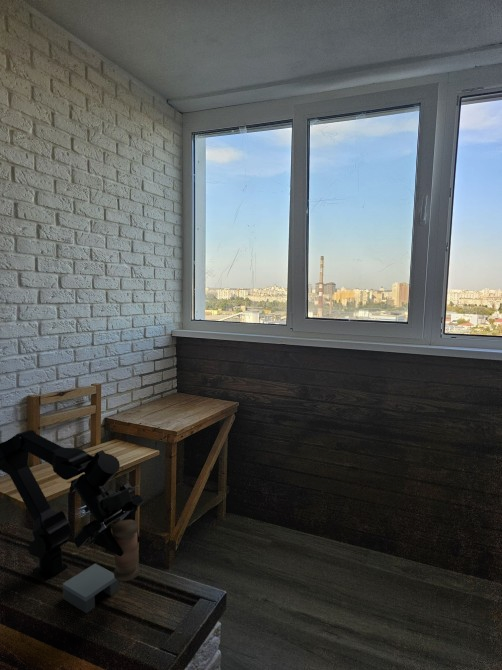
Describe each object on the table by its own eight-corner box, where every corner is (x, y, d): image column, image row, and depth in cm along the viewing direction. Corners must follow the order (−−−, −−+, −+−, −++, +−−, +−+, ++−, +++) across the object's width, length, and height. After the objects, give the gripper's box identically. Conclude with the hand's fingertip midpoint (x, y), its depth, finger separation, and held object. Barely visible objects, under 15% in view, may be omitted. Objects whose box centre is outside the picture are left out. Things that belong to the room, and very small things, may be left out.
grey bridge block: (63, 598, 106) (62, 583, 105) (95, 577, 113) (95, 563, 113) (86, 613, 101) (85, 597, 100) (118, 590, 109) (118, 575, 108)
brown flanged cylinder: (108, 575, 104) (106, 528, 103) (128, 562, 109) (126, 517, 108) (125, 584, 101) (123, 535, 99) (144, 570, 106) (143, 524, 104)
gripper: (80, 493, 96) (120, 553, 92) (137, 464, 113) (172, 513, 109) (57, 519, 100) (94, 577, 96) (115, 487, 117) (148, 535, 113)
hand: (130, 548), depth 103 cm, fingers closed on brown flanged cylinder, 5 cm apart
